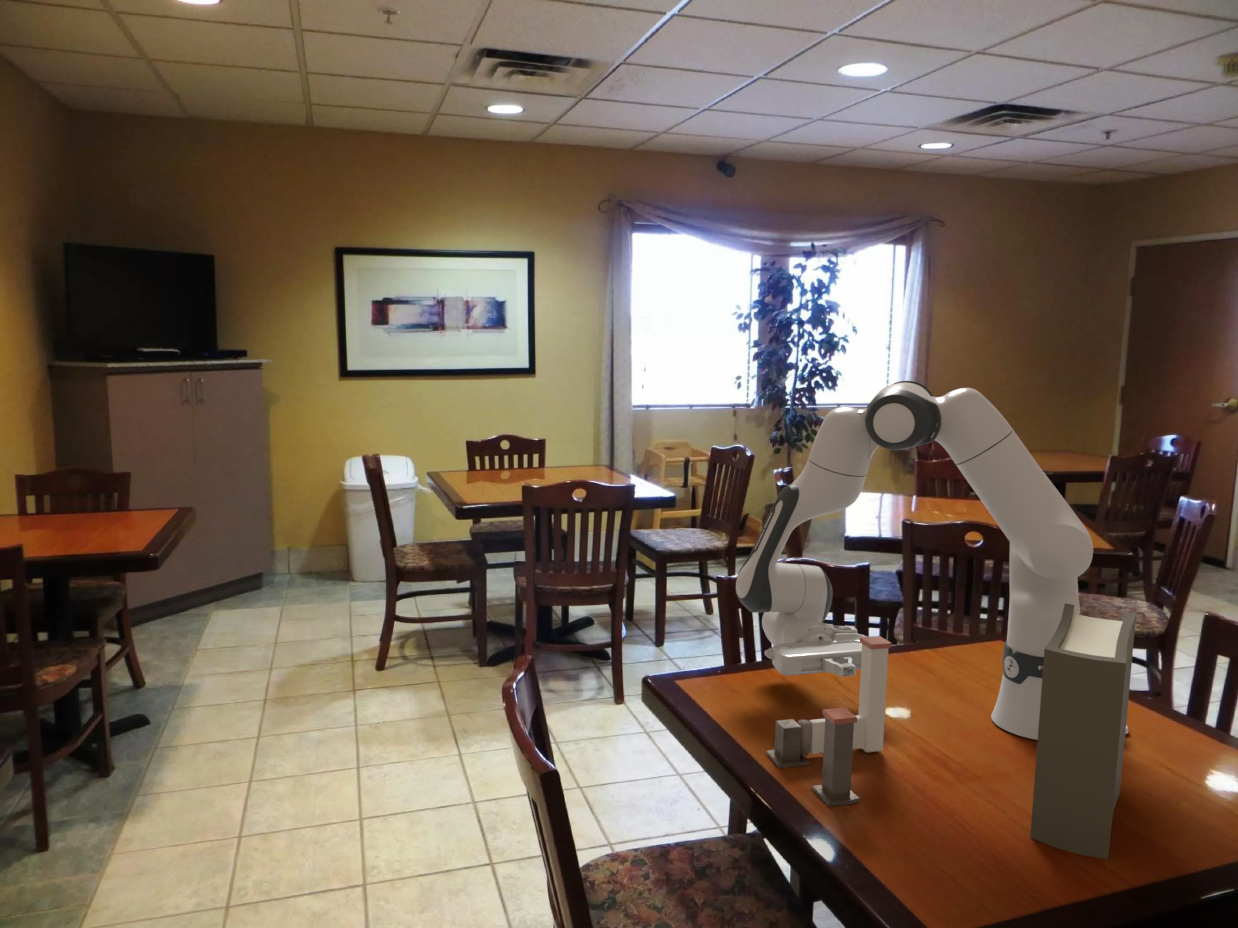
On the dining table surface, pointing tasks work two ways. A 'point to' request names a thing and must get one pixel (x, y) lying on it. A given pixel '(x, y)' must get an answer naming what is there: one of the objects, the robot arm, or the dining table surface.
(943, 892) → the dining table surface
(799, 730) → the hinge post
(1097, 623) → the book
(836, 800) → the post
